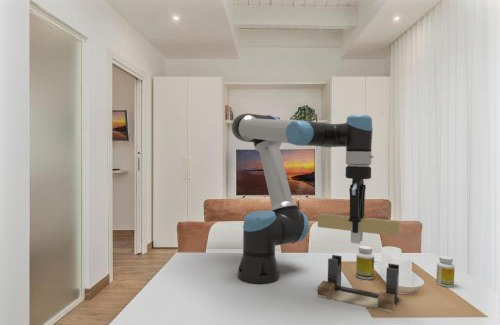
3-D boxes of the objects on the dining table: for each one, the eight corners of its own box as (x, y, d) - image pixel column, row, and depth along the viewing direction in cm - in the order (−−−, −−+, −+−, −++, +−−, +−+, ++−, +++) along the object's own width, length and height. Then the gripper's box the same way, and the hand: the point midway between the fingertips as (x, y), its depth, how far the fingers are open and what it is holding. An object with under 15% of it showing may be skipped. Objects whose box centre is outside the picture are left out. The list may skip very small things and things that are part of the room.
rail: (317, 226, 109) (317, 214, 109) (320, 225, 112) (320, 213, 112) (398, 236, 98) (399, 222, 98) (399, 234, 101) (400, 220, 101)
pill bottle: (374, 280, 122) (375, 250, 122) (357, 279, 124) (357, 248, 124) (372, 275, 129) (373, 245, 128) (355, 273, 130) (356, 244, 130)
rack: (325, 290, 113) (326, 258, 113) (330, 284, 118) (331, 254, 118) (398, 304, 102) (399, 270, 102) (399, 297, 108) (400, 265, 107)
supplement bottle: (432, 282, 122) (433, 255, 121) (444, 281, 123) (444, 254, 123) (446, 288, 117) (447, 260, 116) (457, 286, 118) (458, 258, 118)
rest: (317, 296, 107) (317, 286, 107) (323, 289, 114) (323, 280, 114) (392, 312, 97) (392, 302, 97) (394, 303, 103) (395, 293, 103)
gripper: (366, 166, 96) (364, 249, 96) (375, 165, 110) (373, 238, 110) (339, 165, 99) (338, 245, 100) (351, 165, 114) (349, 235, 114)
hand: (356, 241), depth 105 cm, fingers closed on rail, 3 cm apart
